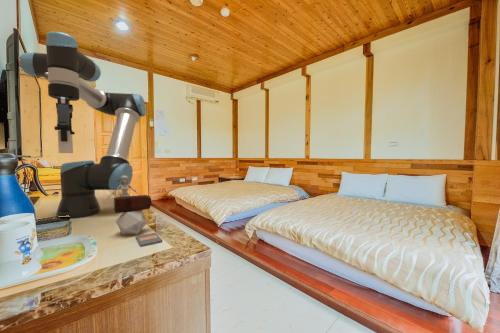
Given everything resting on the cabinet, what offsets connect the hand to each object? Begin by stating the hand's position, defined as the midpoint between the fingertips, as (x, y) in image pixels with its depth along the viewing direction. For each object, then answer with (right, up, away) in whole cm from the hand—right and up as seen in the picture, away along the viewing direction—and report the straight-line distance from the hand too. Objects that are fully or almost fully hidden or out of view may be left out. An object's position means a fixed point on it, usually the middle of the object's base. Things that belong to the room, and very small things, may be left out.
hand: (66, 153), depth 71 cm
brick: (+20, -19, +3) cm, 28 cm away
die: (+19, -27, +3) cm, 33 cm away
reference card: (+28, -27, -3) cm, 39 cm away
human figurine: (+9, -26, +17) cm, 33 cm away
